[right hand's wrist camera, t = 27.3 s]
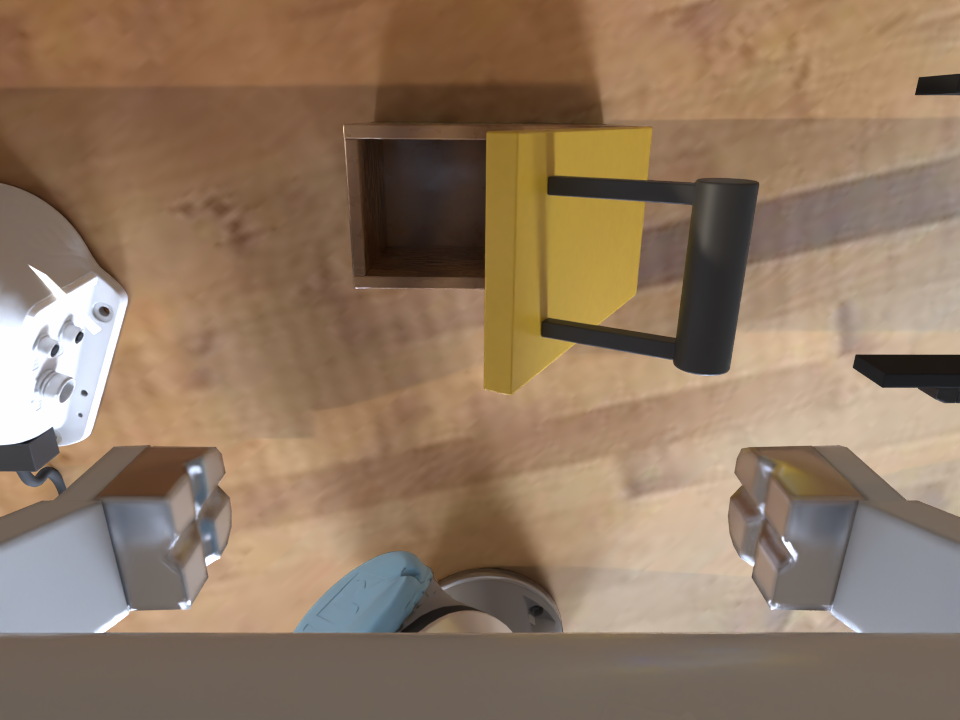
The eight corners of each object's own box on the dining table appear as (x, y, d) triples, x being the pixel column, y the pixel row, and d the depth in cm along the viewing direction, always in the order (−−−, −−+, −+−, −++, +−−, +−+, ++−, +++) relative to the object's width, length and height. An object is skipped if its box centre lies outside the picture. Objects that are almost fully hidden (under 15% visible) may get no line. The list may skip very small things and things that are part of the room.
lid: (482, 390, 26) (708, 441, 22) (485, 131, 22) (755, 136, 18) (616, 291, 40) (766, 312, 36) (631, 126, 37) (798, 128, 33)
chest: (379, 253, 51) (353, 288, 40) (372, 122, 47) (342, 123, 37) (594, 255, 51) (624, 290, 40) (604, 124, 47) (639, 126, 37)
